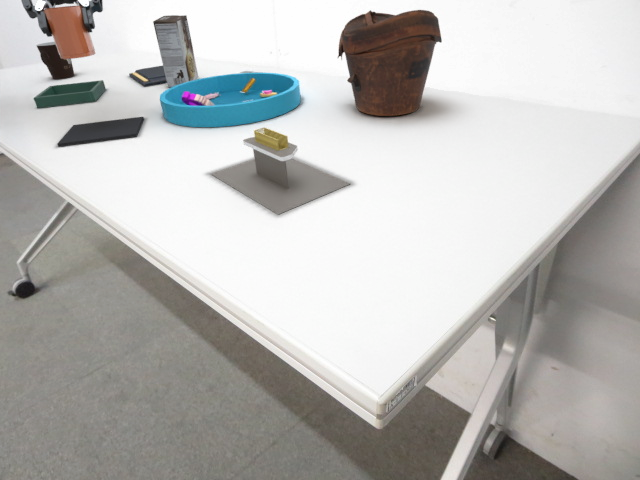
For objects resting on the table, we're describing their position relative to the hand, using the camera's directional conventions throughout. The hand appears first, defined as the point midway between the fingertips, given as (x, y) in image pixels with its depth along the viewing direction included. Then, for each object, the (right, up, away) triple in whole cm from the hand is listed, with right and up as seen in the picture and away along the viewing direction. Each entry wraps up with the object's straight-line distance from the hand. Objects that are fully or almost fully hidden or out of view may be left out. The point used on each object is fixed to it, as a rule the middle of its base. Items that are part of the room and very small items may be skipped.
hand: (68, 31), depth 79 cm
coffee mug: (-38, +14, +62) cm, 74 cm away
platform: (+39, -29, -16) cm, 50 cm away
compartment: (-19, 0, +36) cm, 41 cm away
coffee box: (+7, +6, +43) cm, 44 cm away
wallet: (-2, +11, +53) cm, 54 cm away
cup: (0, -3, +4) cm, 5 cm away
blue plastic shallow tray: (+26, -8, +20) cm, 33 cm away
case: (+58, -11, +11) cm, 60 cm away
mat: (+2, -16, +9) cm, 18 cm away
